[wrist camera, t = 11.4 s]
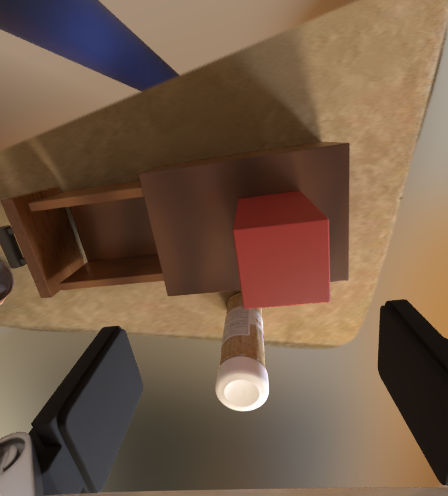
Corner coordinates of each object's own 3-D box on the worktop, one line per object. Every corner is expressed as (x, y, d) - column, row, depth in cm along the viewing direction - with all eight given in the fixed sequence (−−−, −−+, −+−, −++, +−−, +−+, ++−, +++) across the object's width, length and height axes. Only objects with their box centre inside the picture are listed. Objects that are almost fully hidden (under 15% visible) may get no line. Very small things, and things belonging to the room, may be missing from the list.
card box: (245, 255, 25) (243, 309, 17) (237, 198, 23) (232, 229, 15) (303, 249, 24) (330, 303, 16) (300, 190, 23) (329, 218, 15)
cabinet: (186, 261, 35) (167, 296, 27) (166, 164, 31) (138, 173, 23) (324, 246, 33) (348, 280, 25) (322, 141, 29) (349, 142, 21)
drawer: (47, 273, 36) (5, 301, 30) (15, 193, 33) (-40, 205, 26) (198, 257, 34) (187, 285, 27) (181, 168, 30) (164, 176, 24)
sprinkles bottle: (265, 317, 37) (274, 410, 24) (231, 323, 38) (222, 416, 25) (257, 287, 35) (262, 368, 23) (222, 294, 36) (208, 376, 24)
